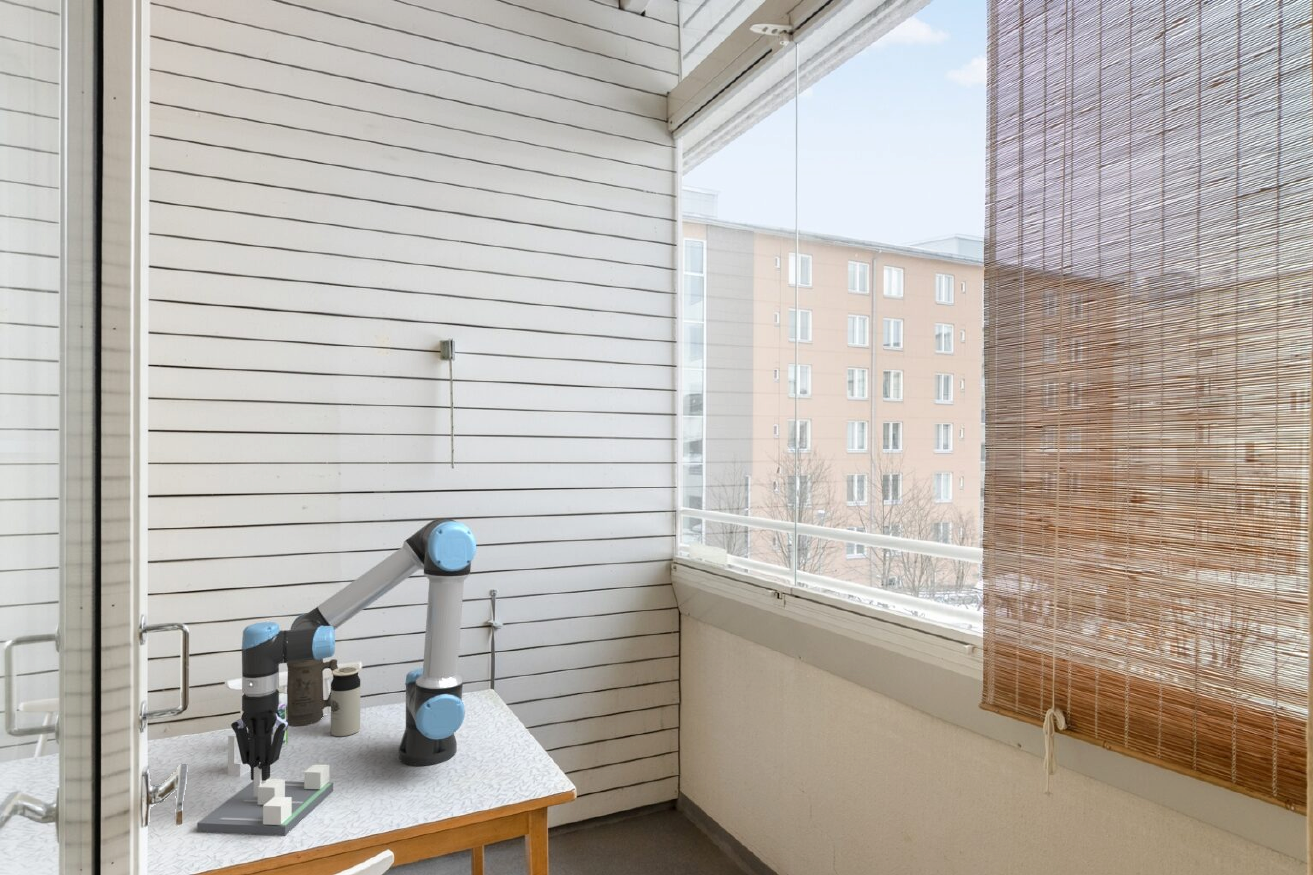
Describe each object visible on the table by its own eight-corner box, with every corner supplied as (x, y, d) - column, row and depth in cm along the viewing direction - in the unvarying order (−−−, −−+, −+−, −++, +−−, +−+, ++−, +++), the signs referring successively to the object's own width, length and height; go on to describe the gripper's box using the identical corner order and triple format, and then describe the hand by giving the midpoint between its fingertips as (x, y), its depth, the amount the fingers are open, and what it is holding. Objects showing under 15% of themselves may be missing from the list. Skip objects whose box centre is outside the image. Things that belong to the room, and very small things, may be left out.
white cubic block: (284, 796, 168) (284, 779, 168) (274, 805, 164) (274, 787, 164) (268, 795, 168) (268, 778, 168) (257, 804, 164) (257, 786, 164)
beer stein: (280, 729, 213) (285, 661, 213) (283, 716, 223) (288, 651, 223) (337, 724, 219) (342, 658, 220) (337, 712, 229) (342, 649, 229)
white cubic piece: (329, 781, 175) (329, 764, 175) (320, 789, 171) (320, 772, 171) (313, 780, 176) (313, 764, 176) (304, 788, 172) (304, 771, 172)
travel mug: (354, 724, 217) (354, 664, 217) (364, 731, 211) (364, 670, 211) (326, 731, 211) (327, 669, 212) (336, 739, 206) (336, 676, 206)
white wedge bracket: (214, 772, 179) (228, 735, 184) (240, 777, 188) (253, 741, 192) (226, 774, 179) (240, 736, 183) (252, 778, 187) (265, 742, 191)
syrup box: (275, 752, 197) (275, 699, 197) (255, 751, 198) (255, 698, 198) (288, 743, 203) (288, 692, 203) (268, 742, 203) (268, 691, 204)
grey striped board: (333, 790, 175) (333, 782, 175) (285, 835, 155) (285, 825, 155) (254, 788, 177) (254, 779, 177) (197, 832, 157) (197, 822, 157)
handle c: (291, 815, 159) (291, 797, 159) (280, 824, 155) (280, 806, 155) (274, 814, 160) (274, 796, 160) (263, 824, 156) (263, 805, 156)
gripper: (222, 696, 163) (222, 800, 163) (277, 697, 162) (277, 802, 162) (244, 685, 171) (244, 784, 170) (296, 686, 170) (296, 786, 169)
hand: (260, 793), depth 166 cm, fingers closed
